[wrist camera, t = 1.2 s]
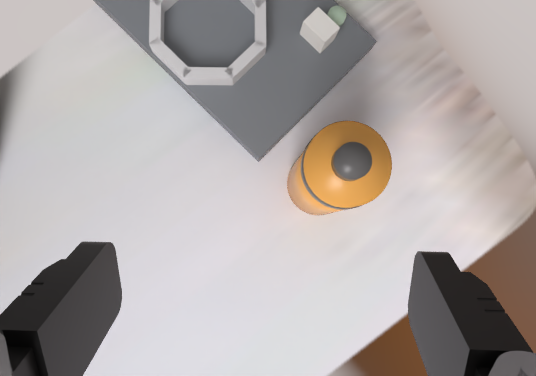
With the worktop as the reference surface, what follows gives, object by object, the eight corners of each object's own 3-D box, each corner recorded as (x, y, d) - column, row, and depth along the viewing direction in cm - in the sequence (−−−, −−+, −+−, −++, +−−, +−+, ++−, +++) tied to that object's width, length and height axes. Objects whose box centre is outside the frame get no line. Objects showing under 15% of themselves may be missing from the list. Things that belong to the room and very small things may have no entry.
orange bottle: (273, 184, 34) (288, 160, 23) (316, 140, 35) (351, 96, 24) (318, 229, 34) (355, 225, 23) (361, 184, 35) (417, 160, 24)
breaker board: (86, -7, 35) (69, -34, 31) (204, -110, 36) (200, -147, 33) (258, 161, 34) (260, 153, 31) (371, 49, 36) (385, 29, 32)
